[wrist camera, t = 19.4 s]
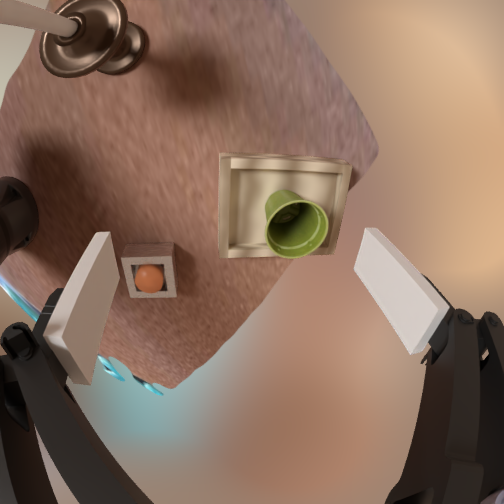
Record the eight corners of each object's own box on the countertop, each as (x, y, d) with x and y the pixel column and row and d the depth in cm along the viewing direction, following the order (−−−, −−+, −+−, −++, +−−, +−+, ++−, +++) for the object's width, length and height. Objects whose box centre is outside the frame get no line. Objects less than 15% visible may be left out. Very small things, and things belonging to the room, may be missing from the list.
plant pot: (315, 218, 49) (334, 243, 41) (266, 239, 50) (278, 268, 42) (299, 171, 44) (318, 189, 36) (245, 194, 44) (254, 217, 37)
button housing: (134, 283, 53) (130, 297, 49) (126, 244, 48) (120, 257, 44) (178, 282, 54) (176, 297, 50) (173, 242, 49) (171, 256, 45)
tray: (218, 245, 51) (219, 258, 48) (219, 152, 42) (220, 158, 39) (326, 243, 54) (333, 254, 51) (342, 159, 45) (352, 165, 42)
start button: (140, 283, 50) (137, 293, 47) (135, 260, 47) (132, 270, 44) (165, 282, 50) (164, 293, 48) (162, 260, 48) (160, 270, 45)
